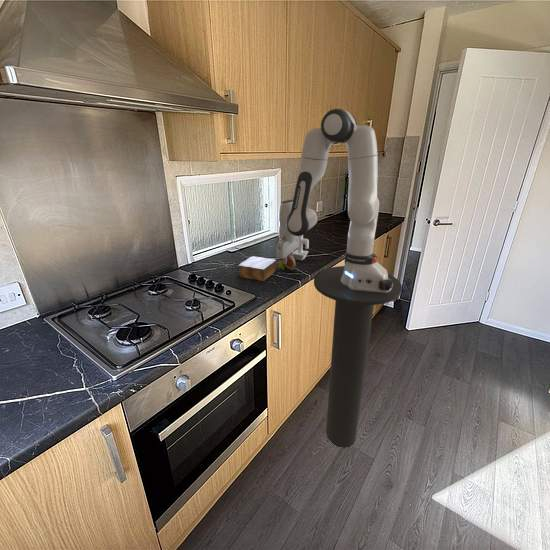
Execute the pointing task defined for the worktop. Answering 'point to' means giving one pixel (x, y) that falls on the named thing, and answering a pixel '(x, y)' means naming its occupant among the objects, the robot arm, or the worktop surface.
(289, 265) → the bird rattle
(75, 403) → the worktop surface
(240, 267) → the wooden block
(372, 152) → the robot arm
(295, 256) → the figurine
